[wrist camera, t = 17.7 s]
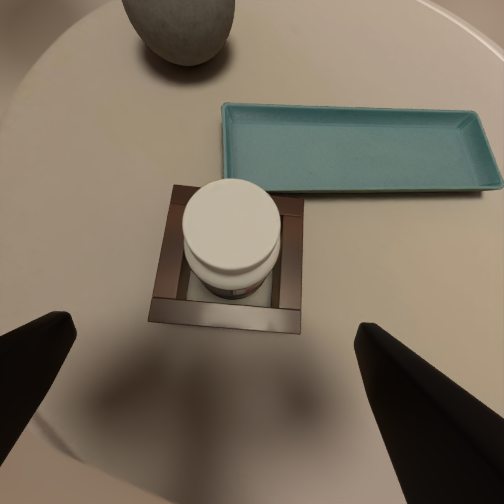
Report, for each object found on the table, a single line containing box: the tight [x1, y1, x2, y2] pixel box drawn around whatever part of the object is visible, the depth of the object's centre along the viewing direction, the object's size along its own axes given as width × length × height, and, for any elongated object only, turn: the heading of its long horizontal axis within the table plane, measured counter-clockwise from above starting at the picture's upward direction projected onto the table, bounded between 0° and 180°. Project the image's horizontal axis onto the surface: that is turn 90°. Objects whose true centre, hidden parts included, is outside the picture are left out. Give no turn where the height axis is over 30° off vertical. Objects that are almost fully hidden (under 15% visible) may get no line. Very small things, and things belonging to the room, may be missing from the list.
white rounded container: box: [182, 179, 281, 299], centre depth 16 cm, size 6×6×10 cm
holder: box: [148, 185, 304, 334], centre depth 19 cm, size 10×10×4 cm
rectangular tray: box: [221, 103, 504, 193], centre depth 24 cm, size 26×9×2 cm, turn 93°
